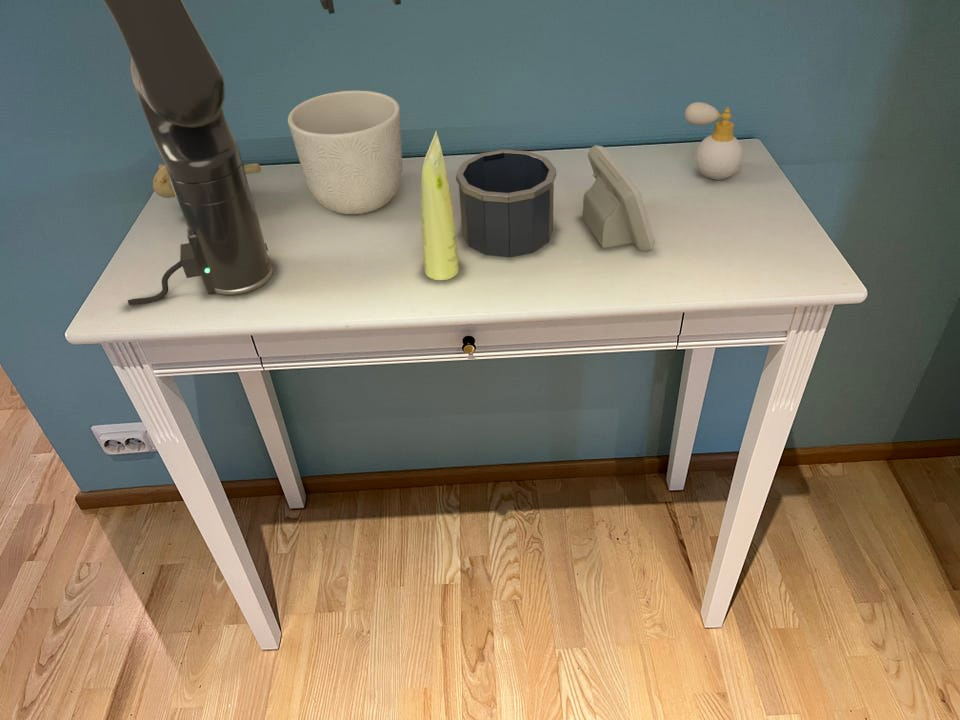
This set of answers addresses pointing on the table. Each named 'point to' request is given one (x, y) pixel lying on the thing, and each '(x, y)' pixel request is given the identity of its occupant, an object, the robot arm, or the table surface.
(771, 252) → the table surface
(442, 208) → the yellow elongated tapered cylinder
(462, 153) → the table surface
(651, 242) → the digital clock
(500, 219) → the pail
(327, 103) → the planter
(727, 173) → the perfume bottle
